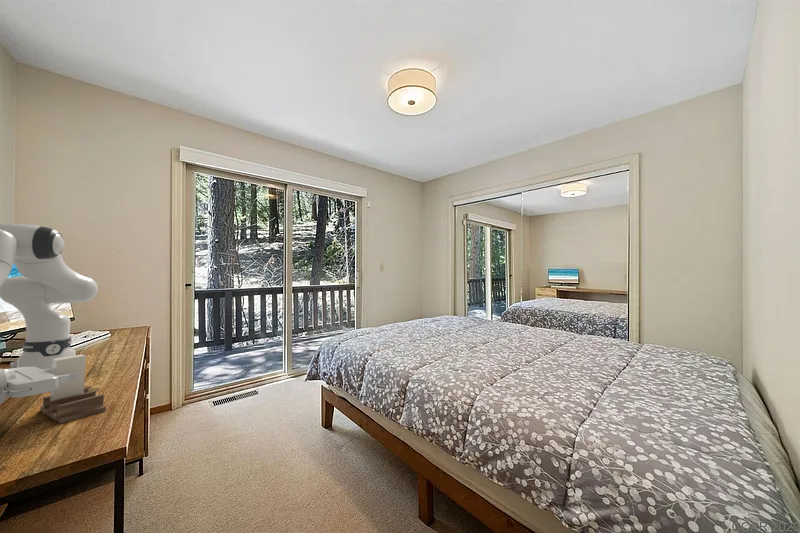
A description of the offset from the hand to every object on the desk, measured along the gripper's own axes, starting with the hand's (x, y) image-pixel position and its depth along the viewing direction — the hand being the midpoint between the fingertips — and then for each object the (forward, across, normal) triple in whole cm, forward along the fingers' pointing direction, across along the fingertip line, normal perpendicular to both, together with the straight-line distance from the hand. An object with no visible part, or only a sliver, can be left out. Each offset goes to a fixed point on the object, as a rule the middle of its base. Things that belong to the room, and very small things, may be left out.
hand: (70, 372), depth 88 cm
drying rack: (0, -3, +11) cm, 11 cm away
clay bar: (0, 0, +9) cm, 9 cm away
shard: (+6, +12, +11) cm, 18 cm away
